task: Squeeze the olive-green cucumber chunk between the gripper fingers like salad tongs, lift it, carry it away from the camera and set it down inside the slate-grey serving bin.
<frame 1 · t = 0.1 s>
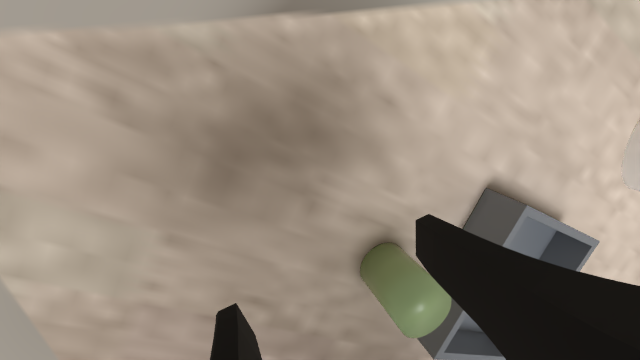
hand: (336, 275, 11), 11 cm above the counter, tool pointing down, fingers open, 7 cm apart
cucumber chunk: (382, 264, 26), on the counter
serving bin: (487, 271, 32), on the counter
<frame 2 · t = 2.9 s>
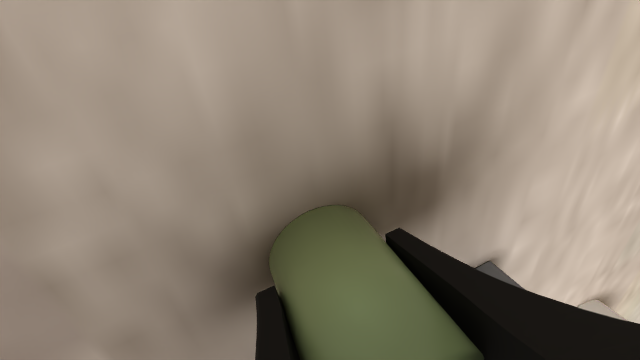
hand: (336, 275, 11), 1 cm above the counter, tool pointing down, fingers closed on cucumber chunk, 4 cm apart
cucumber chunk: (321, 250, 12), on the counter, touching gripper
honey pot: (555, 338, 34), on the counter
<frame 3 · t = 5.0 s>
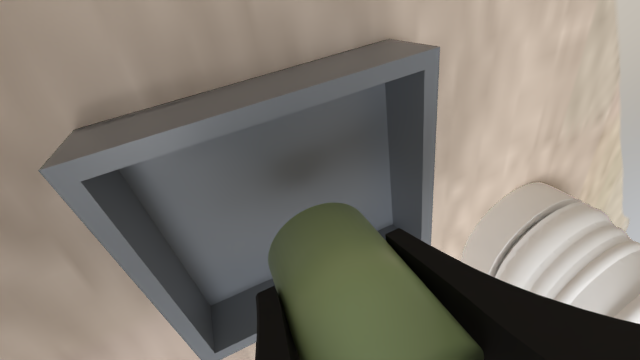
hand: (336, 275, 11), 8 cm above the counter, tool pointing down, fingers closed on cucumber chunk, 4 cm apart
cucumber chunk: (321, 248, 12), point 7 cm above the counter, touching gripper
serving bin: (285, 190, 18), on the counter
honey pot: (506, 232, 33), on the counter
when the fingers open (3 cm above the counter, at t = 6.9 s): cucumber chunk drops 1 cm, resting on serving bin.
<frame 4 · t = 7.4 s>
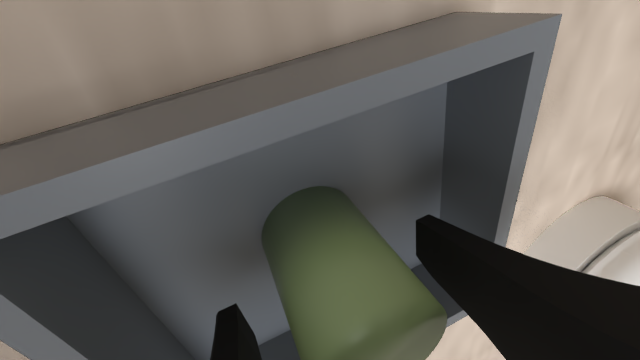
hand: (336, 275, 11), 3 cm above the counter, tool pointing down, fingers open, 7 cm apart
cucumber chunk: (310, 229, 13), point 1 cm above the counter, touching serving bin
serving bin: (305, 222, 14), on the counter
honey pot: (557, 253, 28), on the counter
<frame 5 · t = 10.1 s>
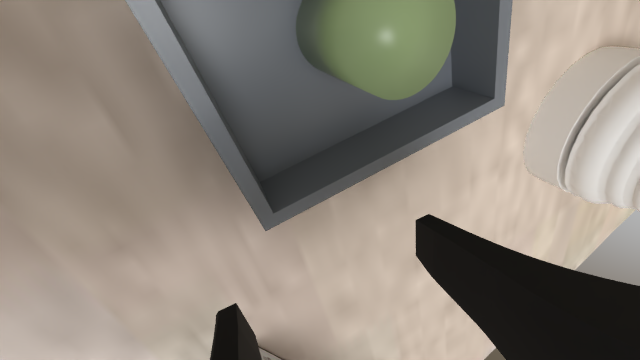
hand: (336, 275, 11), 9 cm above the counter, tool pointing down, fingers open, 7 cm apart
cucumber chunk: (336, 28, 15), point 1 cm above the counter, touching serving bin
serving bin: (331, 29, 16), on the counter
honey pot: (572, 117, 29), on the counter
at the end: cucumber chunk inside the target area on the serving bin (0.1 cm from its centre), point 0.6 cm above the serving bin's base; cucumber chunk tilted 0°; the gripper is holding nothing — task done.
